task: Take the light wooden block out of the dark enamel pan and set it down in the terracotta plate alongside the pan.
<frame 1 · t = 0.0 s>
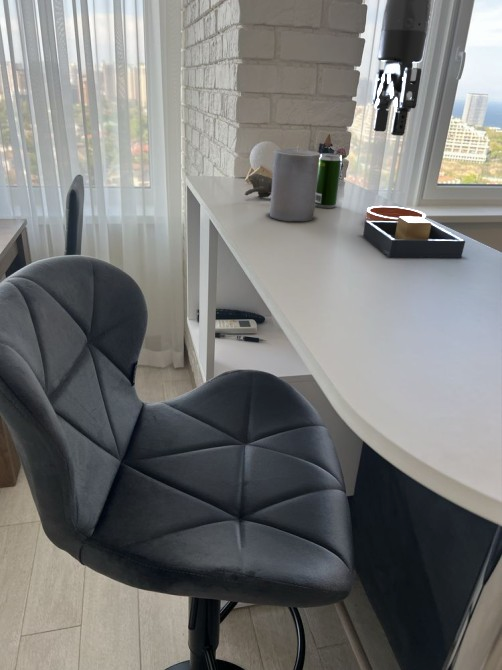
hand: (387, 133, 92), 19 cm above the table, tool pointing down, fingers open, 8 cm apart
pillar candle: (291, 217, 112), on the table
beer can: (324, 206, 124), on the table
pan: (409, 246, 95), on the table
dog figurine: (267, 199, 128), on the table
block: (410, 243, 95), point 1 cm above the table, touching pan
plate: (393, 226, 109), on the table
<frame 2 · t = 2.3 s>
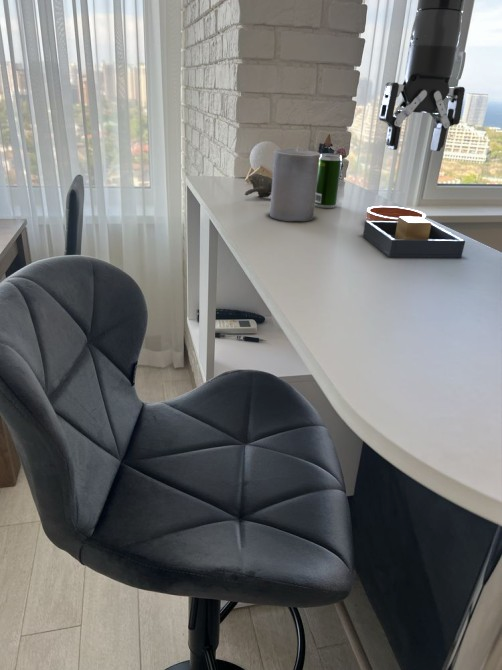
hand: (414, 150, 89), 17 cm above the table, tool pointing down, fingers open, 8 cm apart
nothing on the table moved.
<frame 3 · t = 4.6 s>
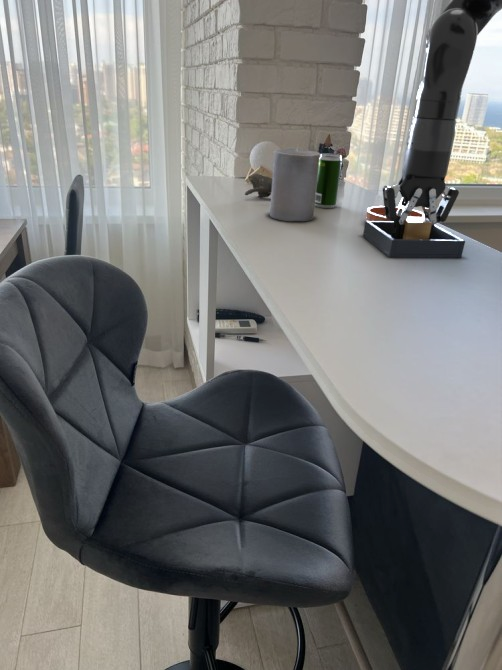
hand: (410, 242, 95), 1 cm above the table, tool pointing down, fingers closed on block, 4 cm apart
block: (410, 243, 95), point 1 cm above the table, touching gripper, pan
everything else where it was.
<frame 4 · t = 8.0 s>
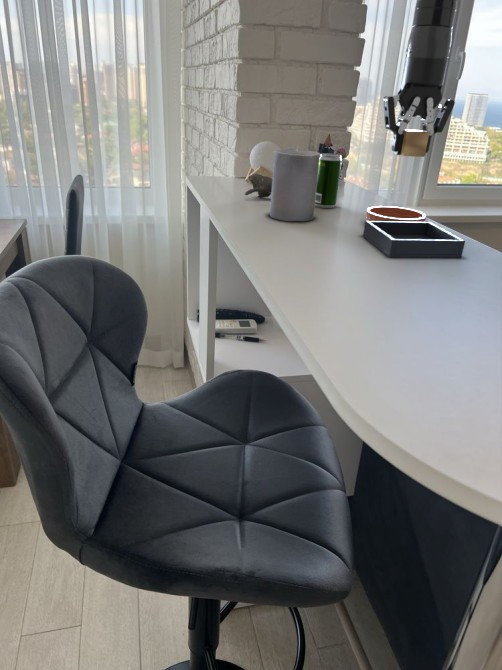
hand: (409, 154, 100), 15 cm above the table, tool pointing down, fingers closed on block, 4 cm apart
block: (409, 154, 100), point 15 cm above the table, touching gripper
everything else where it was.
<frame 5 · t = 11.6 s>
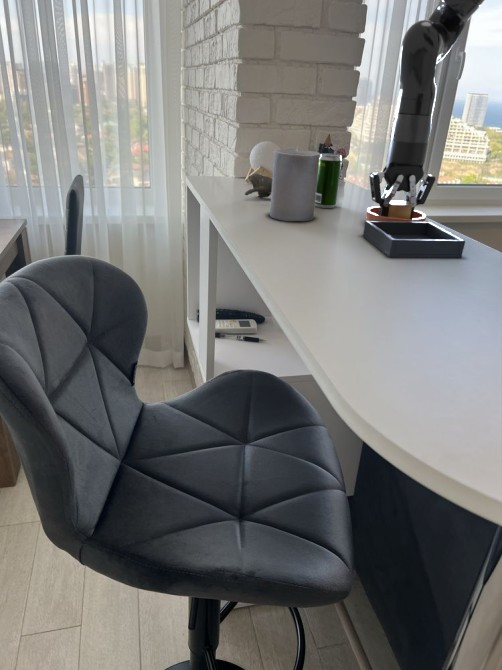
hand: (394, 223, 108), 1 cm above the table, tool pointing down, fingers closed on block, 4 cm apart
block: (394, 223, 108), point 1 cm above the table, touching gripper
everything else where it was.
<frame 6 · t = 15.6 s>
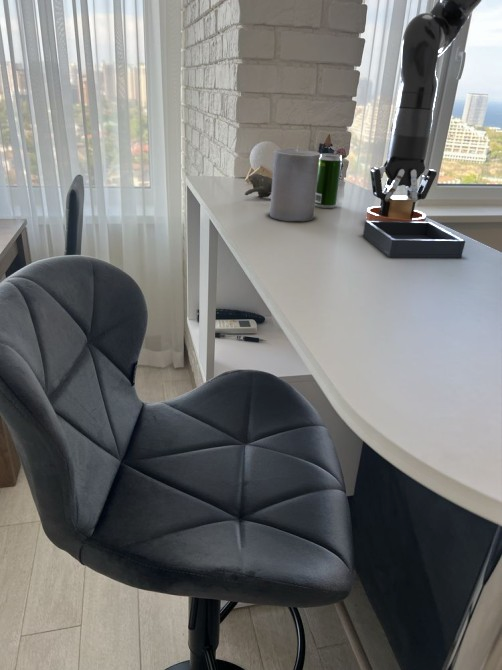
hand: (395, 218, 108), 2 cm above the table, tool pointing down, fingers closed on block, 4 cm apart
block: (395, 218, 108), point 2 cm above the table, touching gripper
everything else where it was.
when the fingers open (2 cm above the table, at t = 19.2 s): block drops 1 cm, resting on plate.
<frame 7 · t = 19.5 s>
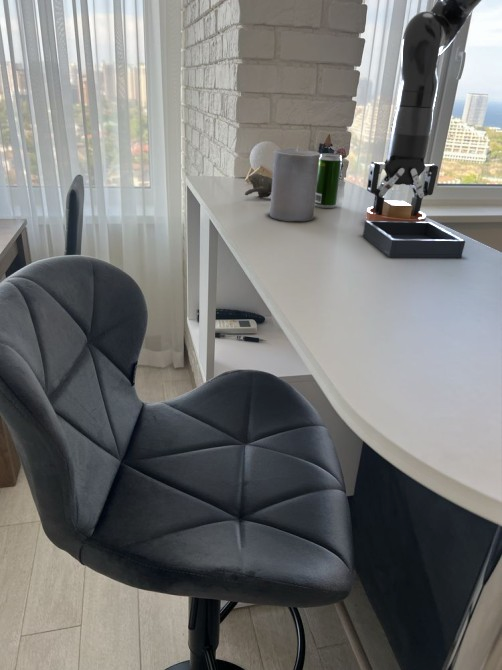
hand: (395, 214, 107), 3 cm above the table, tool pointing down, fingers open, 7 cm apart
block: (394, 224, 108), resting on plate
everything else where it was.
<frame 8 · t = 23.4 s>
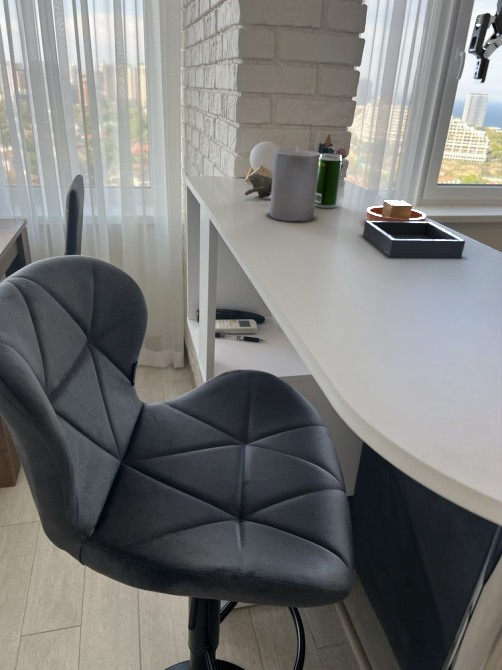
hand: (501, 84, 91), 28 cm above the table, tool pointing down, fingers open, 8 cm apart
nothing on the table moved.
at the end: block inside the target area in the plate (0.1 cm from its centre), point 0.5 cm above the plate's base; the gripper is holding nothing; block tilted 0° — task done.
